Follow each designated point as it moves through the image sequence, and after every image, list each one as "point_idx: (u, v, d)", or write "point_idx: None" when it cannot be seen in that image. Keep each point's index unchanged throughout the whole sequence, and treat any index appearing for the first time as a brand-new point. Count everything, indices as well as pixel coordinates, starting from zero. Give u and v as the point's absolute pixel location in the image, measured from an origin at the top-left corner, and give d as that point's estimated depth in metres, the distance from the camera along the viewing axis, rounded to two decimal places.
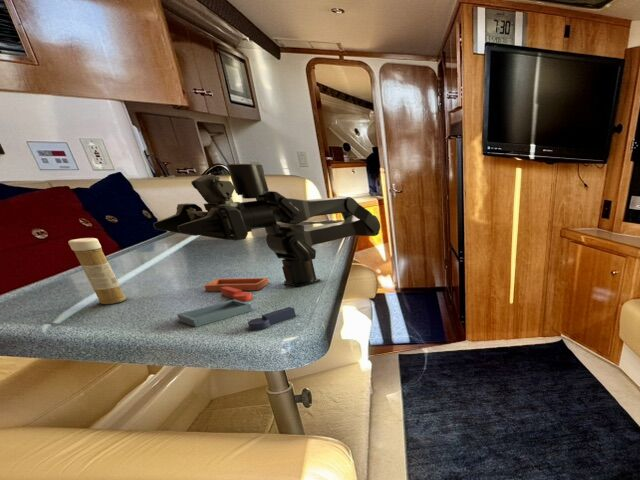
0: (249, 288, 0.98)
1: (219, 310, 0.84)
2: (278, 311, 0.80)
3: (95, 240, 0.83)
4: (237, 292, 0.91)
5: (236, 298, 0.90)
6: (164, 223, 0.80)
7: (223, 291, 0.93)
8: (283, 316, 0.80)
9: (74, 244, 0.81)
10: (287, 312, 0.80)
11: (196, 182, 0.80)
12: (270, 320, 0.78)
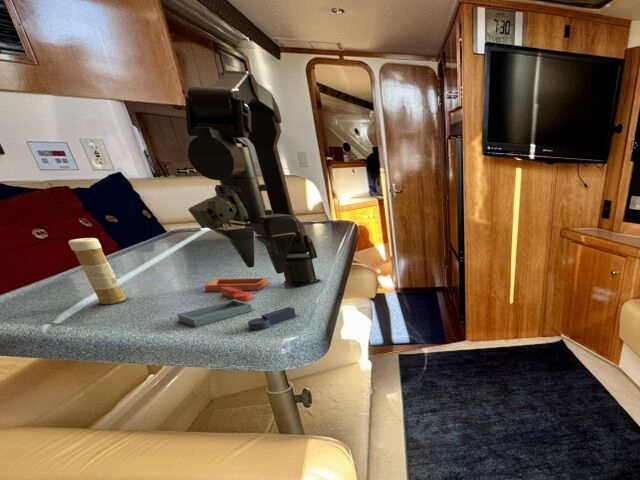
0: (249, 288, 0.98)
1: (219, 310, 0.84)
2: (278, 311, 0.80)
3: (95, 240, 0.83)
4: (237, 292, 0.91)
5: (236, 298, 0.90)
6: (247, 258, 0.76)
7: (223, 291, 0.93)
8: (283, 316, 0.80)
9: (74, 244, 0.81)
10: (287, 312, 0.80)
11: None
12: (270, 320, 0.78)
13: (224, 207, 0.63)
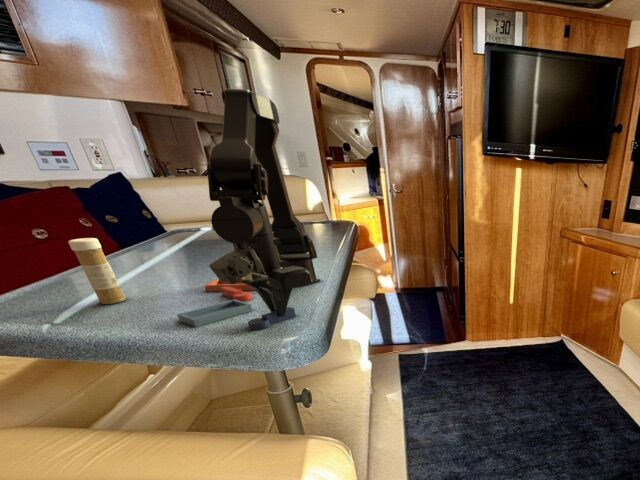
0: (249, 288, 0.98)
1: (219, 310, 0.84)
2: None
3: (95, 240, 0.83)
4: (237, 292, 0.91)
5: (236, 298, 0.90)
6: (272, 306, 0.79)
7: (223, 291, 0.93)
8: (283, 316, 0.80)
9: (74, 244, 0.81)
10: (287, 312, 0.80)
11: None
12: (270, 320, 0.78)
13: (243, 265, 0.68)
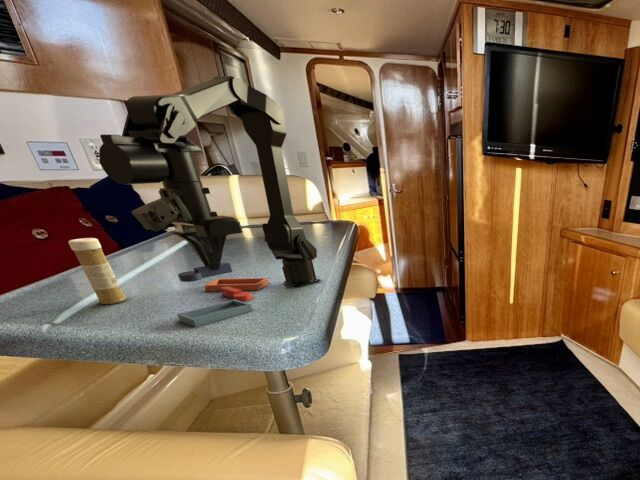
0: (249, 288, 0.98)
1: (219, 310, 0.84)
2: None
3: (95, 240, 0.83)
4: (237, 292, 0.91)
5: (236, 298, 0.90)
6: (206, 259, 0.78)
7: (223, 291, 0.93)
8: (218, 270, 0.79)
9: (74, 244, 0.81)
10: (222, 266, 0.79)
11: None
12: (202, 273, 0.77)
13: (165, 210, 0.67)
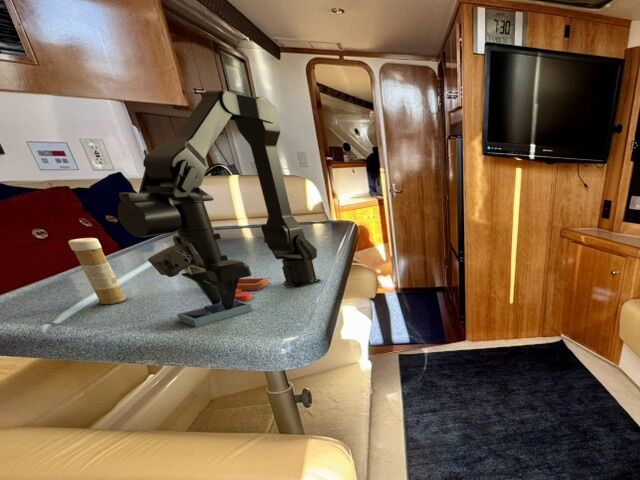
0: (249, 288, 0.98)
1: None
2: None
3: (95, 240, 0.83)
4: (237, 292, 0.91)
5: (236, 298, 0.90)
6: (213, 298, 0.83)
7: None
8: None
9: (74, 244, 0.81)
10: None
11: None
12: (212, 311, 0.81)
13: (179, 258, 0.71)
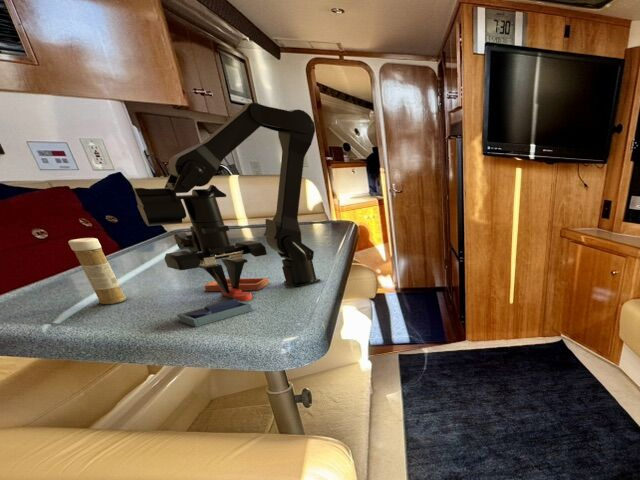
0: (249, 288, 0.98)
1: None
2: (222, 303, 0.82)
3: (95, 240, 0.83)
4: (237, 292, 0.91)
5: (236, 298, 0.90)
6: (231, 283, 0.93)
7: (223, 291, 0.93)
8: (227, 307, 0.83)
9: (74, 244, 0.81)
10: (231, 304, 0.83)
11: None
12: (212, 311, 0.81)
13: (178, 240, 0.87)
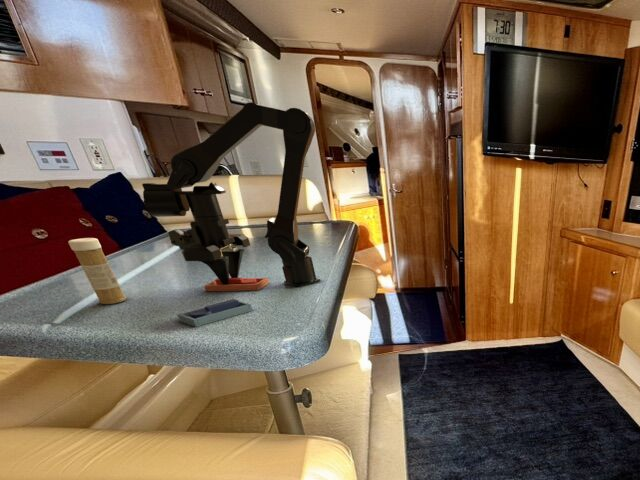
0: (249, 288, 0.98)
1: None
2: (222, 303, 0.82)
3: (95, 240, 0.83)
4: (242, 280, 0.99)
5: None
6: (231, 273, 1.00)
7: (219, 283, 0.98)
8: (227, 307, 0.83)
9: (74, 244, 0.81)
10: (231, 304, 0.83)
11: (187, 246, 0.95)
12: (212, 311, 0.81)
13: (176, 236, 0.89)
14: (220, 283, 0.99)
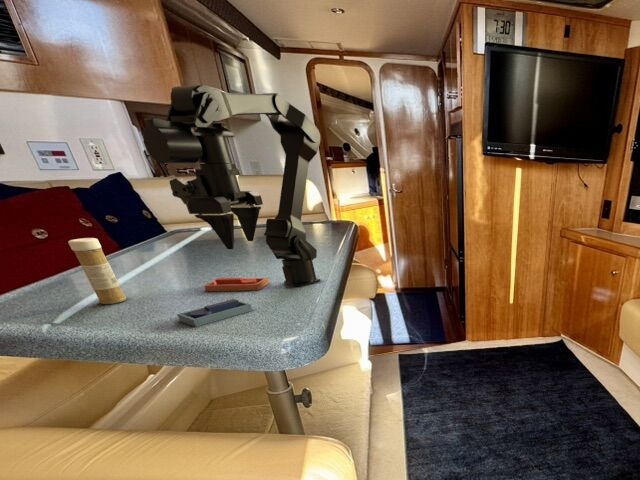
0: (249, 288, 0.98)
1: None
2: (222, 303, 0.82)
3: (95, 240, 0.83)
4: (242, 280, 0.99)
5: None
6: (246, 232, 0.89)
7: (219, 283, 0.98)
8: (227, 307, 0.83)
9: (74, 244, 0.81)
10: (231, 304, 0.83)
11: None
12: (212, 311, 0.81)
13: (178, 186, 0.76)
14: (220, 283, 0.99)
